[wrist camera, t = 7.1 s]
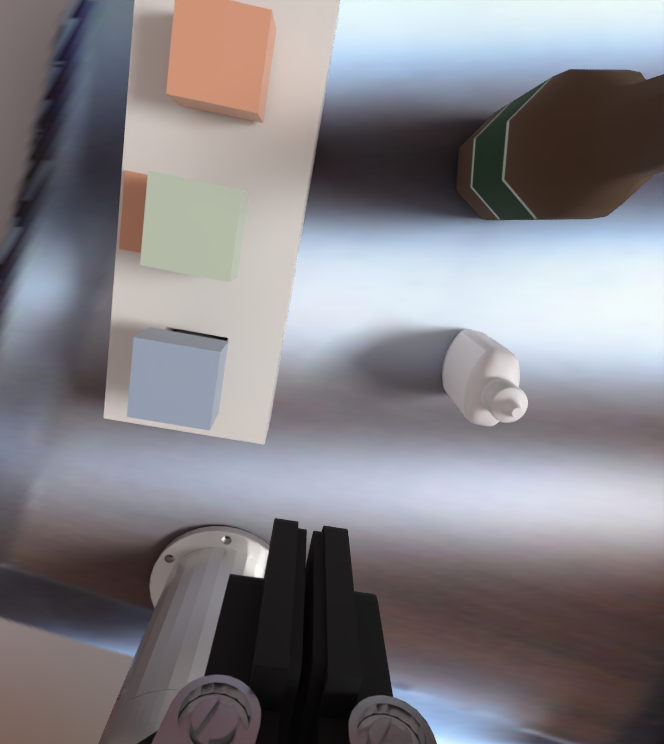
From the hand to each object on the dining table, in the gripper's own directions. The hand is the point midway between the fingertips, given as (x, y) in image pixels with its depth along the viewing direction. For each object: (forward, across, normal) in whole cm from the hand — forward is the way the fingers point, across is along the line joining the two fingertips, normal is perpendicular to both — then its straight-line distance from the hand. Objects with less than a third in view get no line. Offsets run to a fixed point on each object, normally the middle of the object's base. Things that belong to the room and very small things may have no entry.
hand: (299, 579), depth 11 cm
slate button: (+29, +8, +3) cm, 30 cm away
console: (+31, +8, -6) cm, 33 cm away
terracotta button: (+31, +8, -16) cm, 35 cm away
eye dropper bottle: (+31, -13, +1) cm, 34 cm away
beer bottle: (+31, -12, -14) cm, 36 cm away
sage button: (+29, +8, -6) cm, 30 cm away
